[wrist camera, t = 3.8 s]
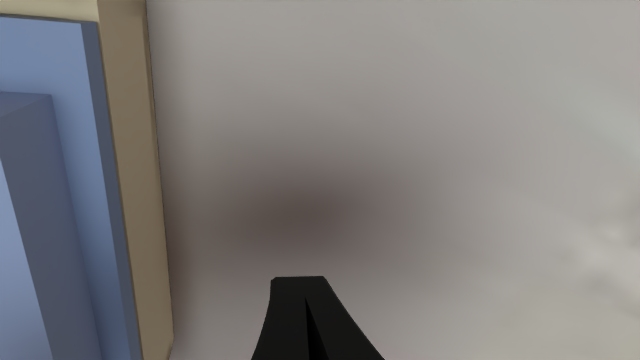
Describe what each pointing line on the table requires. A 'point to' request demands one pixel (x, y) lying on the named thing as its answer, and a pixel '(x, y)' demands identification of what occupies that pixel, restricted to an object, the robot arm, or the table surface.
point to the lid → (59, 199)
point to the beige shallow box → (129, 151)
